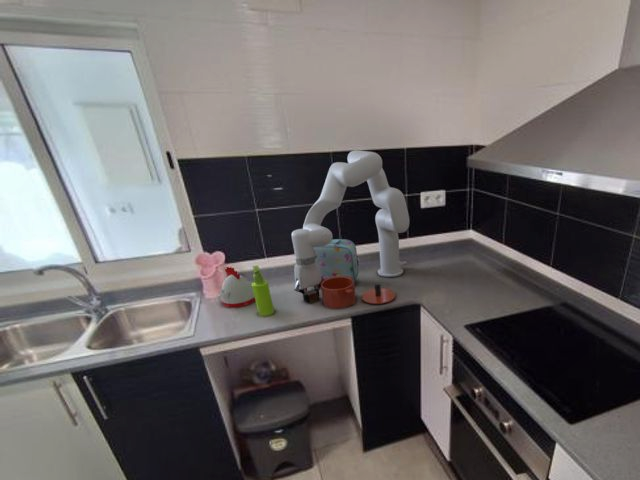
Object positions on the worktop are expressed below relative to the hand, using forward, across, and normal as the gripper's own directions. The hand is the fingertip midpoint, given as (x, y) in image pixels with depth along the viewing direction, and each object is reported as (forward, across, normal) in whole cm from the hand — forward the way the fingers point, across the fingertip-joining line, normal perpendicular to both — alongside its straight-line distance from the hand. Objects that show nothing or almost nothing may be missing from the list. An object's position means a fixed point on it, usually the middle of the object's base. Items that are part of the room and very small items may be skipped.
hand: (312, 299), depth 163 cm
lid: (0, -22, +18) cm, 28 cm away
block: (0, 0, 0) cm, 0 cm away
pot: (0, -8, +9) cm, 12 cm away
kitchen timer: (0, +22, -23) cm, 32 cm away
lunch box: (0, -17, -10) cm, 20 cm away
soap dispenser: (0, +19, -3) cm, 19 cm away
